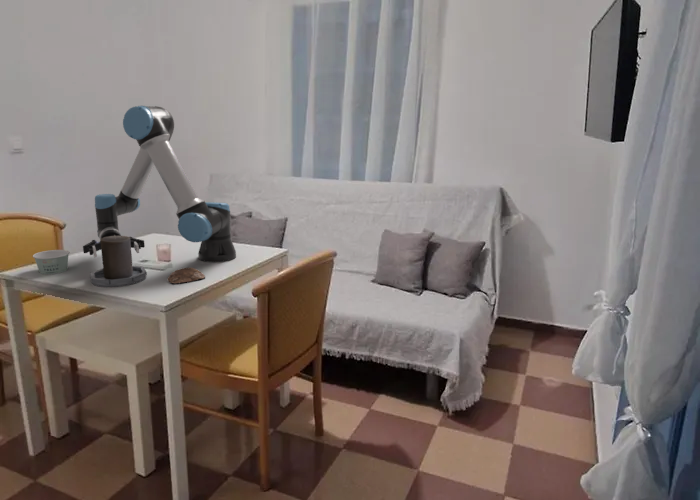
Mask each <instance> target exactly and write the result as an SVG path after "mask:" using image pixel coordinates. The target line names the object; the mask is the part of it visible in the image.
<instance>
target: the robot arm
mask: <svg viewBox="0 0 700 500" xmlns="http://www.w3.org/2000/svg"><path fill="white" fill-rule="evenodd" d="M122 127H123V130H124V132H125V134H126V135H127V136H128V137H129V138H132V139H133V140H135V141H136V142H137V143H138V146H139V148H140V149H138V153H137V154H136V157H135V159H134V161H133V163H132V165H131V168H130V170H129V172H128V175H127V176H126V178H125V181H124V183H123V186H122V188H121V189H120V192H119V194H118V196H116V195H115V194H113V193H101V194H97V195H95V196H94V208H95V215H96V216H95V217H96V226H97V237H98V239H99V241H98V240H96V239H92V240H91V241H90V242H88V243H86V244H84V245H82V251H83V254H88V253H89V256H93V257H94V258H95V259H96V258H98V255H97V254H98V253H97V252H99V251H101V239H102V238H104V237H109V236H114V235H115V236H122V234H121V233H120V231H119V219H118V217H119V216H122V215H125V214H129V213H133V212H134V211H137V210H138V209H139V208H140V206H141V200H140V197H141V194H142V193H143V190H144V188H145V186H146V185H147V182H148V179H149V177H150V176H151V174H152V171H153V170H154V167H155V169H156V170H157V173H158V175H159V176H160V178H161V180H162V181H163V183H164V186H165V188H166V190H167V191H168V193H169V195H170V197H171V198H172V200H173V202H174V204H175V206H176V208H177V210H176V213H175V214H176V217H177V218H178V221H177V229H178V232H179V234H180V236H182V238H184V239H185V240H186V241H188V242H191V243H200V246H199V249H198V253H197V255H198V260H200V261H203V262H206V263H207V262H209V263H219V262H229V261H232V260H234V259H236V258H237V251H236V248H235V245H234V243H233V240H232V233H231V230H232V229H231V210H230V209H231V208H230V205H229V204H228V203H227V202H217V201H216V202H214V201H213V202H212V201H210V202H209V201H208V202H206V201H205V200H204V199H202V198H199V196H198V195H197V193H196V190H195V189H194V187H193V185H192V183H191V181H190V179H189V177H188V175H187V174H186V172H185V170H184V168H183V166H182V164H181V162H180V159H179V158H178V157H177V154H176V152H175V151H174V148H173V147H172V145H171V142H170V140H171V139H172V136H173V134H174V129H175V120H174V118H173V116H172V114H171V112H169V110H167V109H165V108H163V107H161V106H156V105H155V106H146V105H137V106H132V107H130V108H129V109H128V110H126V112H125V114H124V115H123V119H122ZM129 237H130V242H131V249H132V248H133V249H134V251H135V253H136V254H140V250H141V249H142V248H146V247H145V246H146V245H145V240H144V239H139V238H135V237H132V236H129Z"/></svg>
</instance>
